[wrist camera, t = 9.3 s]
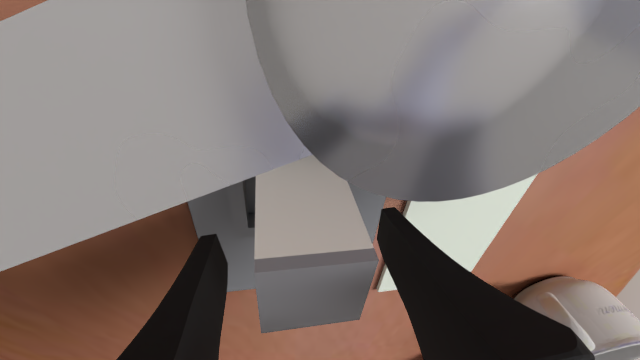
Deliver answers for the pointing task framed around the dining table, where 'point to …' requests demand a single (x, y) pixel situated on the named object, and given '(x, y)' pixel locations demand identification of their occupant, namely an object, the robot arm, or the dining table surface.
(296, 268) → the plug
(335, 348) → the dining table surface
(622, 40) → the grey long bar piece
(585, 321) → the teacup
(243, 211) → the socket board
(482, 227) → the mat
